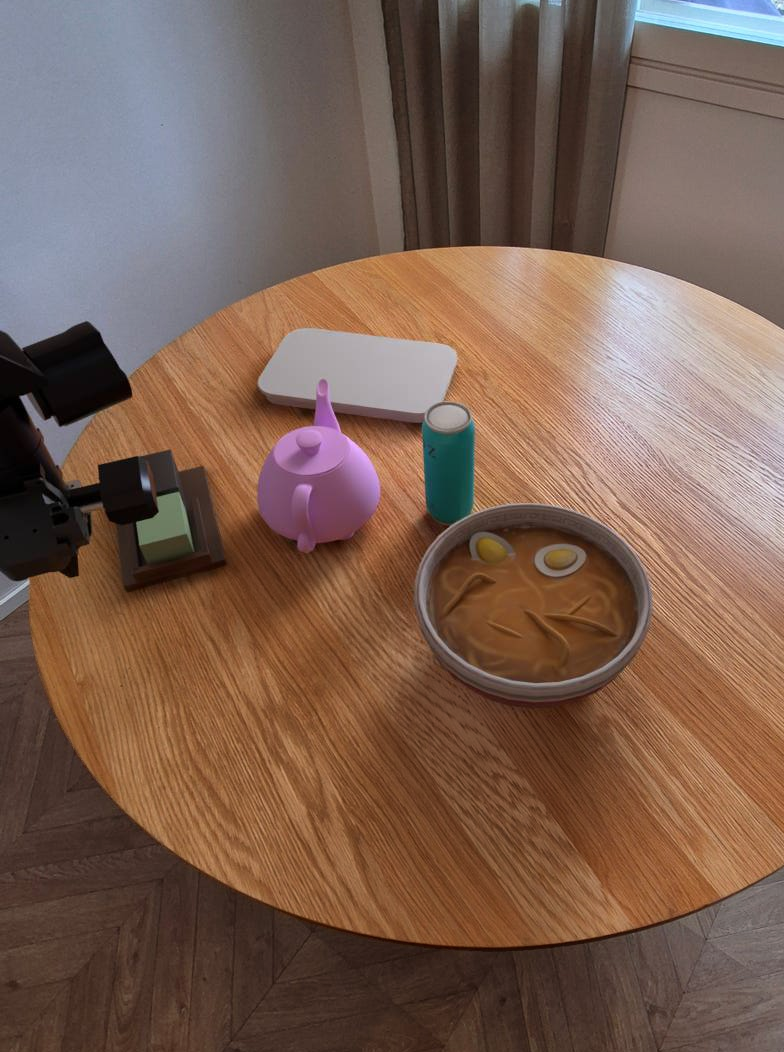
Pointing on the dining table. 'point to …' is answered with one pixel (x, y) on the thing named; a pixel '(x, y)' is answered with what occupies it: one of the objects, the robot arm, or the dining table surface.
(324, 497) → the teapot
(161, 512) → the pad
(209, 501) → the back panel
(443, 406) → the beverage can
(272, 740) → the dining table surface
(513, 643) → the bowl
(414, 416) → the tablet
